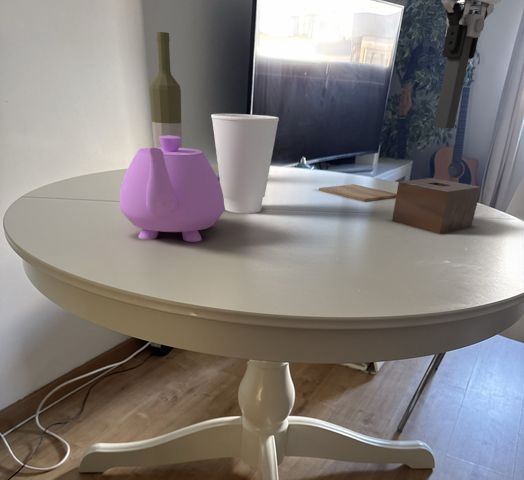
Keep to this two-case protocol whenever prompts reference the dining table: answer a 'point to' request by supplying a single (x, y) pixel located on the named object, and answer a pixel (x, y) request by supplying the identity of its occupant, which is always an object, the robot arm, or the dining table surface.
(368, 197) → the wooden board
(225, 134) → the cup
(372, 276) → the dining table surface
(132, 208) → the teapot
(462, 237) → the dining table surface
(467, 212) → the holder
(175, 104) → the bottle
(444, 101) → the long square rod
